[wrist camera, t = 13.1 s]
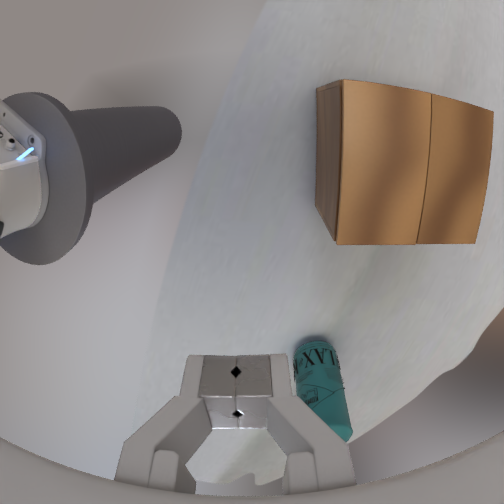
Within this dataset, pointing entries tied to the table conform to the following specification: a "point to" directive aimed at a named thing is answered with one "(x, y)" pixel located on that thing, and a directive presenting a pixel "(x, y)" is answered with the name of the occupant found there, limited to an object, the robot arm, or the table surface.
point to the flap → (382, 163)
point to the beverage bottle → (322, 385)
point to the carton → (438, 171)
